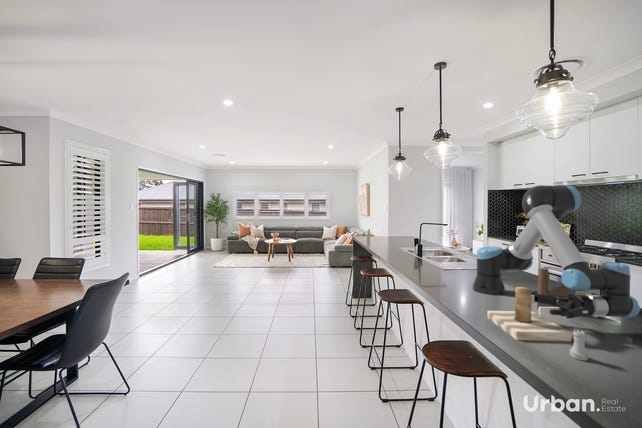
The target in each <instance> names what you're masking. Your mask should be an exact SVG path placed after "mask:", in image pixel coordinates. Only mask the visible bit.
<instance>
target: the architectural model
mask: <svg viewBox="0 0 642 428" xmlns="http://www.w3.org/2000/svg"><path fill="white" fill-rule="evenodd" d="M575 295H592V292H591V291H581V290H575Z"/></svg>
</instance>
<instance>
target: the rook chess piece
mask: <svg viewBox="0 0 642 428" xmlns="http://www.w3.org/2000/svg"><path fill="white" fill-rule="evenodd" d="M572 335H573V345H572V346H571V348H570V349H569V355H570V357H572V358H573V359H576V360H578V361H583V362H584V361H588V360H589V359H590V358H589V354H588V353H589V352H588V350H587V349H586V346H585V345H586V337H587V335H586V331H584V330H581V331H580V330H579V329H574V330H573V332H572Z"/></svg>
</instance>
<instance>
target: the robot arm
mask: <svg viewBox="0 0 642 428" xmlns="http://www.w3.org/2000/svg"><path fill="white" fill-rule="evenodd" d="M521 201H522V202H521V205H522V209H523V213H524V214H525V216H526V217H527V218H528V219H529V220H528V222H527V223H526V225H525V226H524V228H523V230H522V231H520V234H519V235H518V237H517V238H515V239H516V240H515V241H514V242H511V243H509V244H508V246H507V247H506V248H504V249H502V248H501V246H500V247H499V246H493V245H492V246H483V247H479V248H478V249H477V251H476V276H475V279H474V280H473V283H472V289H473V290H474V291H475V292H477V293H481V294H487V295H504V294H505V293H506V287H505V284H504V281H503V278H502V272H523V271H526V270H529V269H531V267H532V266H533V263H534V262H533V260H534V256H533V252H532V251H533V250H534V249H535V248H536V246H538V244H539V243H540V242H541V240H542V239H543V240H544V241H545V243H546V244H547V246H548V248H549V249H550V250H551V252H552V253H553V256H554V257H555V258H556V260H557V262H558V263H559V265H560V266H561V269H562V270H563V271H562V273H561V283H562V282H563V284H564V285H565V286H566V287H567V288H569V290H572V291H582V292H586V291H596V290H597V291H601V294H600V295H599V294H591V295H576V294H573V295H572V296H570V297H569V299H567V298H562V297H560V296H557V295H549V294H548V295H540V294H538V293H532V298H531V304H535V303H537V302H538V303H544V304H549V305H553V306H554V307H539V309H538V314H539V315H540V316H561V317H566V318H567V319H575V318H578V317H593V318H598V317H610V318H611V317H612V318H613V317H614V318H631V317H636V316H637V315H639V313H640V310H641V307H640V305H639V302H638V300H637V299H636V298H635V297H633V296H631V269H630V266H629V265H628V264H625V263H619V262H612V261H608V262H607V261H606V262H602V263H601V267H600V268H591V267H590V265H589V264H588V262H587V261H586V260H585V258H584V257H583V256H582V254H581V252H580V251H579V249H578V248H577V246H576V245H575V244H574V242H573V240H572V239H571V238H570V236H569V234H568V233H567V232H566V230H565V229H564V228H563V226H562V224H561V223H560V221H559V220H562V219H564V217H565V216H566V215H567V213H573V212H575V211H577V210H578V209H579V207H580V206H581V204H582V198H581V193H580V192H579V190H578V189H577V188H576V187H574V186H571V185H564V184H561V185H535V186H533V187H530V188H529V189H528V190H527V191H526V192H525V193H524V195H523V197H522V200H521ZM556 303H557V304H558V305H557V304H556ZM560 308H561V310H560Z"/></svg>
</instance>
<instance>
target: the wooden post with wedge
mask: <svg viewBox="0 0 642 428" xmlns="http://www.w3.org/2000/svg"><path fill="white" fill-rule="evenodd" d="M537 273H538V275H537V294H540V295H549V296H560V297H562V298H567V299H570V297H569V292H570V289H569V288H567V287H566V286H565V285H564V284H563V282H562V281H561V283H559V284H558V285H557V286H555V287H553V288H552V289H550V290H549V268H545V267H539V268H538V272H537ZM556 304H557V303H556ZM557 305H558V304H557ZM539 307H554V306H553V305H549V304H544V303H538V302H536V309H537V310H539ZM560 310H561V308H560Z"/></svg>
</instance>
